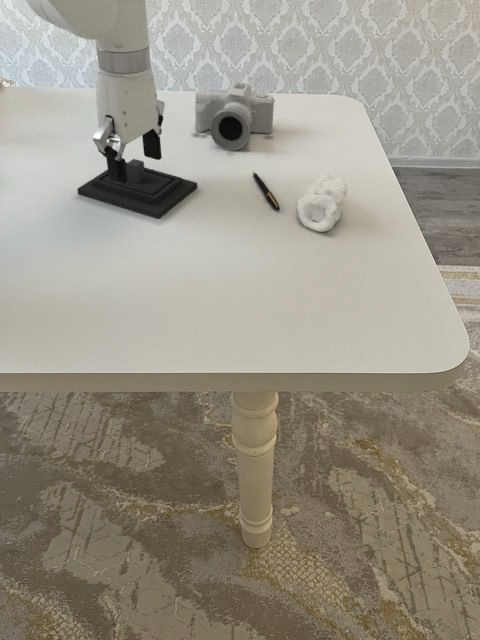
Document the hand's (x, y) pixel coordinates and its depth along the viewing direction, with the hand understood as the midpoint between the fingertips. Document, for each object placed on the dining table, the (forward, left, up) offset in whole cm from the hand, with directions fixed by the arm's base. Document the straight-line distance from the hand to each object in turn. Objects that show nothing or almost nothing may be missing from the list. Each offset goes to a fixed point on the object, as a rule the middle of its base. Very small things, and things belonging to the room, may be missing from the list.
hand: (136, 168), depth 98 cm
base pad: (0, 0, -4) cm, 4 cm away
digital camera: (+2, +28, -4) cm, 28 cm away
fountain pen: (+19, +10, -4) cm, 22 cm away
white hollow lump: (+30, +8, -4) cm, 31 cm away
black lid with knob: (0, 0, -3) cm, 3 cm away
